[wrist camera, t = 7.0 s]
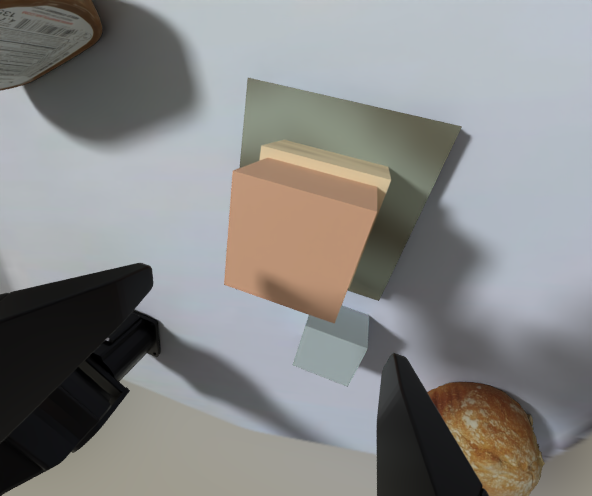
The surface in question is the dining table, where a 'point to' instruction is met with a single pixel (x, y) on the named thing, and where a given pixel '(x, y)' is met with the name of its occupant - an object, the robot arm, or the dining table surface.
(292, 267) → the terracotta brick
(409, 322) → the dining table surface
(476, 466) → the bread roll
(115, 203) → the dining table surface
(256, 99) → the build board
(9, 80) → the tin
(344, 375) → the gray brick
